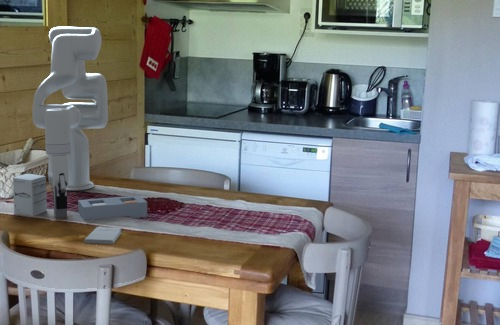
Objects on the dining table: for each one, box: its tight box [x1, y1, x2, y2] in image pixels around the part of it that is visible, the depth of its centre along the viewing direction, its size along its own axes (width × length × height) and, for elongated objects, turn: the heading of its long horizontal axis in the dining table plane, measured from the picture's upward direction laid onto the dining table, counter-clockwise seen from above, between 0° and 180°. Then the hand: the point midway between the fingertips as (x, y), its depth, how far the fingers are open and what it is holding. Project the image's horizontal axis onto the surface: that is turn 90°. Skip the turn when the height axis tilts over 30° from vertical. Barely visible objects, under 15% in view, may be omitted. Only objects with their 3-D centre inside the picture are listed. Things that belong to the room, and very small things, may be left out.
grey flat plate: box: [46, 211, 75, 222], centre depth 207 cm, size 8×7×1 cm
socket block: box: [77, 194, 148, 221], centre depth 212 cm, size 9×20×5 cm, turn 114°
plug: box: [52, 184, 68, 218], centre depth 206 cm, size 3×3×11 cm
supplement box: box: [12, 173, 48, 217], centre depth 210 cm, size 7×7×13 cm
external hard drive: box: [83, 226, 124, 245], centre depth 192 cm, size 2×8×12 cm
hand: (60, 205), depth 206 cm, fingers open, 5 cm apart
